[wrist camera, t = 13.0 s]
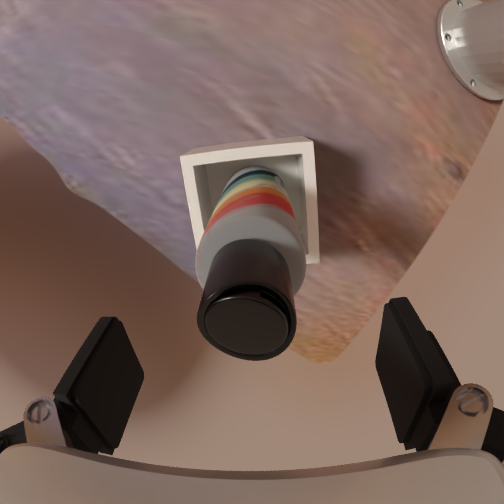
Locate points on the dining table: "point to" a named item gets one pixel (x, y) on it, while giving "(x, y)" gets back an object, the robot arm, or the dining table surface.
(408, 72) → the dining table surface
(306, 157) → the caddy
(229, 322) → the lotion bottle
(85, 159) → the dining table surface
